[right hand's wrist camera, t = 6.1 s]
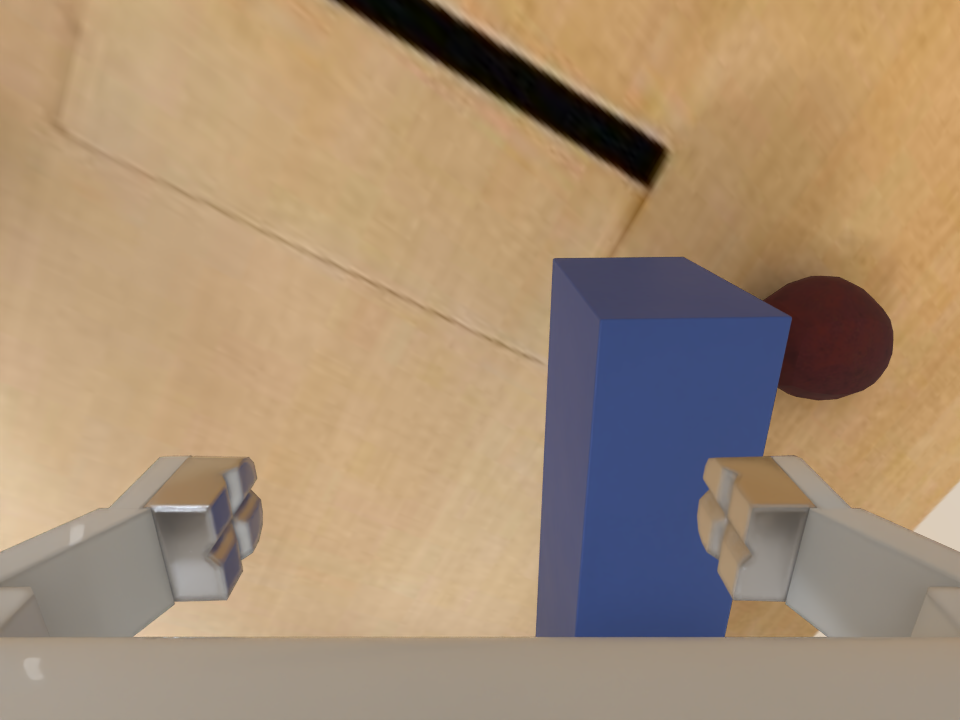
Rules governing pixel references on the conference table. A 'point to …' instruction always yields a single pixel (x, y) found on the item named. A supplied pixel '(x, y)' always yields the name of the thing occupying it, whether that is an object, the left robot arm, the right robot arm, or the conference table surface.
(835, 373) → the potato
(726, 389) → the box
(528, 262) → the conference table surface
